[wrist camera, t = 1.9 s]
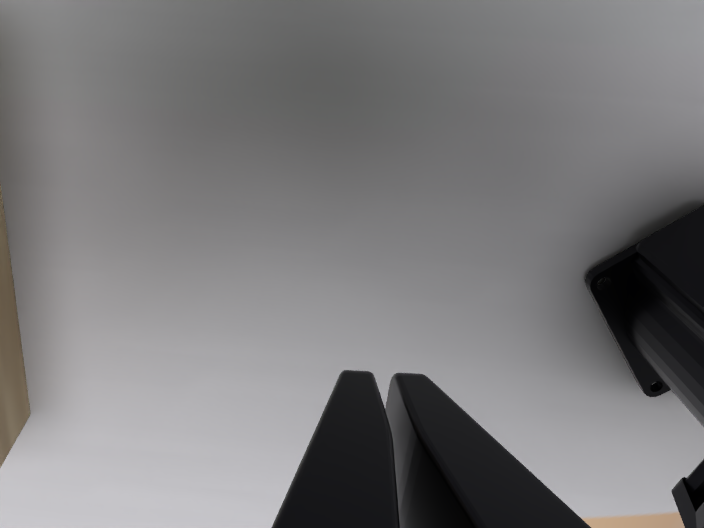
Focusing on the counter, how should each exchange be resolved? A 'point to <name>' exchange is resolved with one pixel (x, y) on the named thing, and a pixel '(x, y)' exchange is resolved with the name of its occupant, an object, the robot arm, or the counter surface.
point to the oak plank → (10, 354)
